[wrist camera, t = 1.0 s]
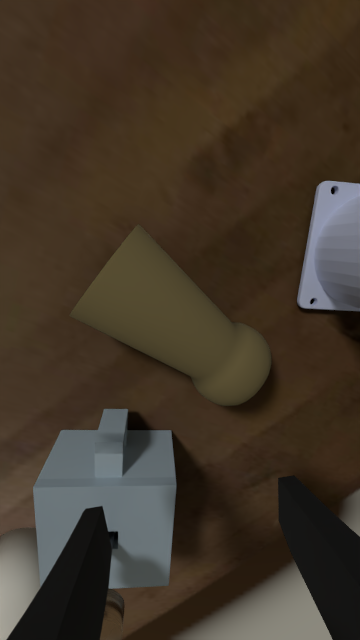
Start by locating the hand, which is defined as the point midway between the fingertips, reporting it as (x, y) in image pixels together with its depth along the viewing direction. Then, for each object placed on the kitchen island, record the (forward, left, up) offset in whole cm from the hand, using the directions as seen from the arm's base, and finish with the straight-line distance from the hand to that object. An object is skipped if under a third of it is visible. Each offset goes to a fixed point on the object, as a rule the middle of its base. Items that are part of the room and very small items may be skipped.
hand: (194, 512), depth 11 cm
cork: (+5, -8, -7) cm, 12 cm away
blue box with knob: (+4, +7, -10) cm, 13 cm away
